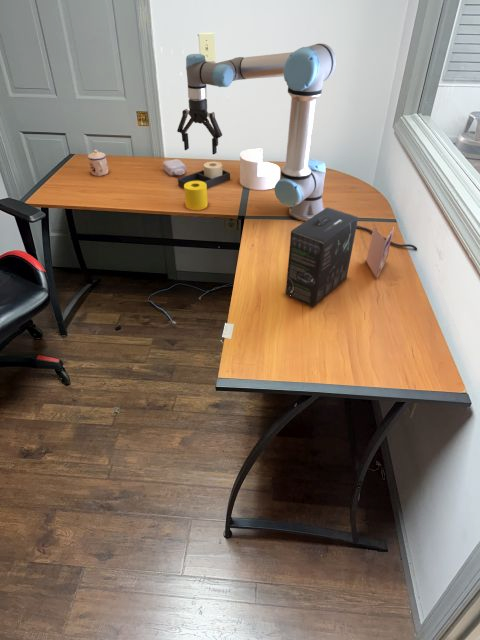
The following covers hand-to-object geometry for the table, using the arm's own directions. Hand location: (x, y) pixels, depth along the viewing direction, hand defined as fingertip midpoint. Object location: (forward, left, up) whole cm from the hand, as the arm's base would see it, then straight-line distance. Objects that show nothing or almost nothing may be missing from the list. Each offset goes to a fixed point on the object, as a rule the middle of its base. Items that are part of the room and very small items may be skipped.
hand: (200, 151), depth 191 cm
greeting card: (-89, -7, -22) cm, 92 cm away
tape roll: (-4, +7, -22) cm, 23 cm away
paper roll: (+13, -18, -22) cm, 31 cm away
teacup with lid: (+59, +20, -22) cm, 66 cm away
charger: (+32, -9, -22) cm, 40 cm away
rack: (+13, -12, -22) cm, 28 cm away
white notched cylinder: (-5, -33, -22) cm, 40 cm away
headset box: (-82, +17, -22) cm, 87 cm away
